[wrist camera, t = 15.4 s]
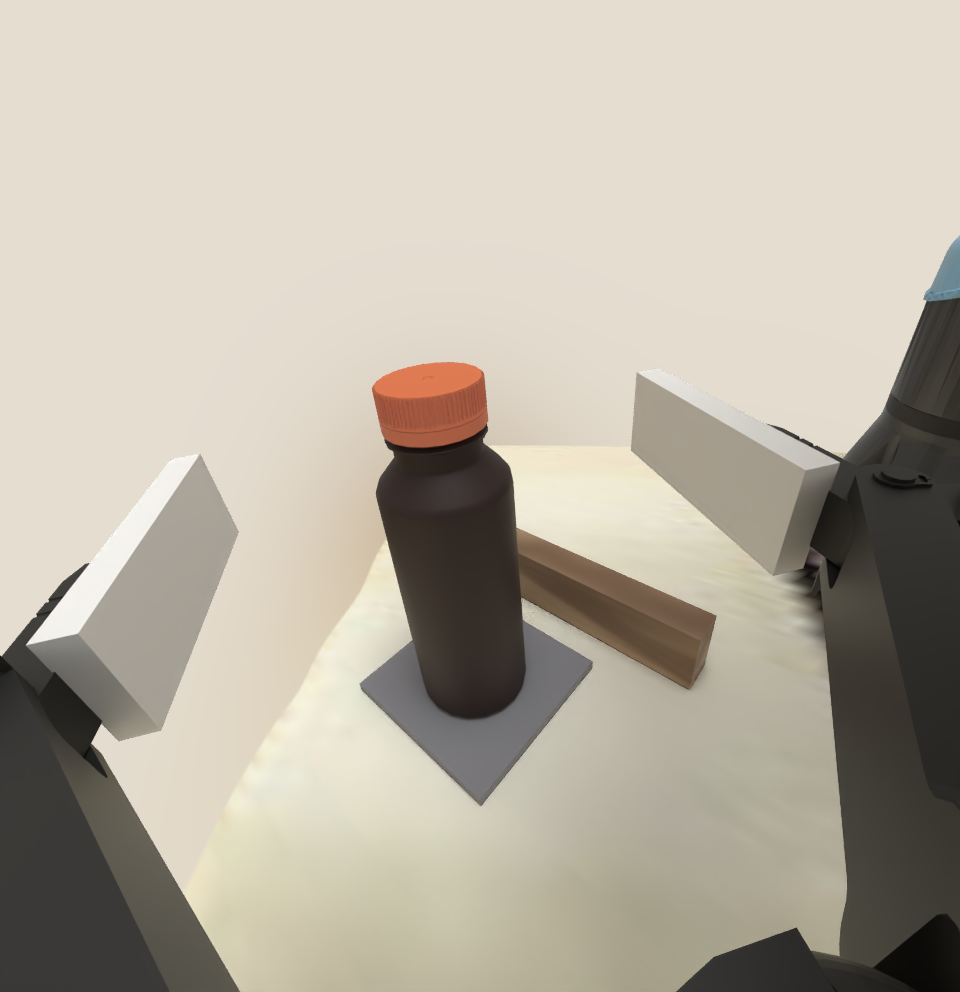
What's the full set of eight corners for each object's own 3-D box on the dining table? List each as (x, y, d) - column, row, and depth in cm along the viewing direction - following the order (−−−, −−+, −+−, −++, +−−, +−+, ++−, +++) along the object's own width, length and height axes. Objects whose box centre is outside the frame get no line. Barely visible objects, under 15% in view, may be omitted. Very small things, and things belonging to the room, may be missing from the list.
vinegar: (546, 665, 31) (537, 366, 20) (478, 744, 27) (422, 420, 16) (472, 618, 35) (431, 350, 24) (403, 681, 31) (318, 390, 20)
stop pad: (473, 596, 38) (472, 590, 37) (592, 667, 31) (592, 661, 31) (361, 689, 31) (359, 683, 31) (480, 805, 24) (479, 799, 24)
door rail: (465, 542, 44) (459, 502, 41) (704, 664, 30) (716, 615, 28) (447, 555, 42) (440, 515, 40) (689, 689, 29) (700, 640, 26)
